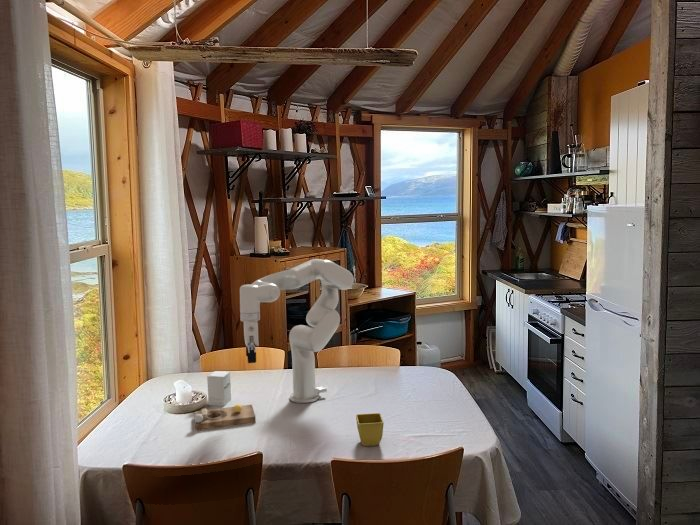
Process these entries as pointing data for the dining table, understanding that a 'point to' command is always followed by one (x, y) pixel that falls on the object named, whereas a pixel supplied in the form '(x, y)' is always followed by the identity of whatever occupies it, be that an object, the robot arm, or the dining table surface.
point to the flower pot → (370, 428)
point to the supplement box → (219, 388)
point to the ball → (237, 408)
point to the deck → (225, 417)
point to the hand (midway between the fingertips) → (251, 359)
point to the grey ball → (198, 418)
